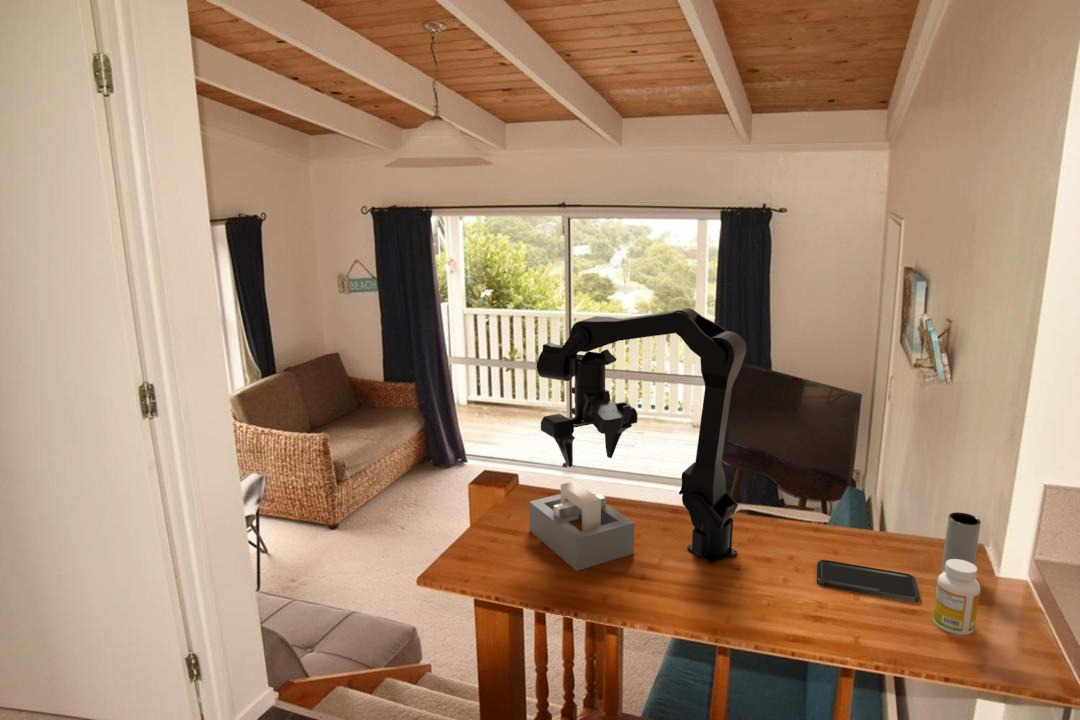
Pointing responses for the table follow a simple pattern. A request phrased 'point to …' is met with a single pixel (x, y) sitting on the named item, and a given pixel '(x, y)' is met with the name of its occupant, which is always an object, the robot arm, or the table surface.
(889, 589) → the phone
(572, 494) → the cream block
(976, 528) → the grey hollow cylinder
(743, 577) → the table surface
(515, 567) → the table surface
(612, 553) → the frame
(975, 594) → the supplement bottle
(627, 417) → the robot arm
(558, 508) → the cross bar
